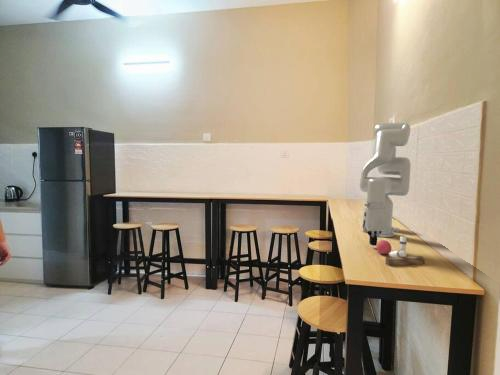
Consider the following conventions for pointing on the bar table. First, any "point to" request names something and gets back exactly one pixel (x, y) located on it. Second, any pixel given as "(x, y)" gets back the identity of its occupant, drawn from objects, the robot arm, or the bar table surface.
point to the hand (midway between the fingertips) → (373, 244)
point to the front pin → (397, 254)
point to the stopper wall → (405, 260)
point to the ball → (383, 247)
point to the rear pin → (402, 244)
